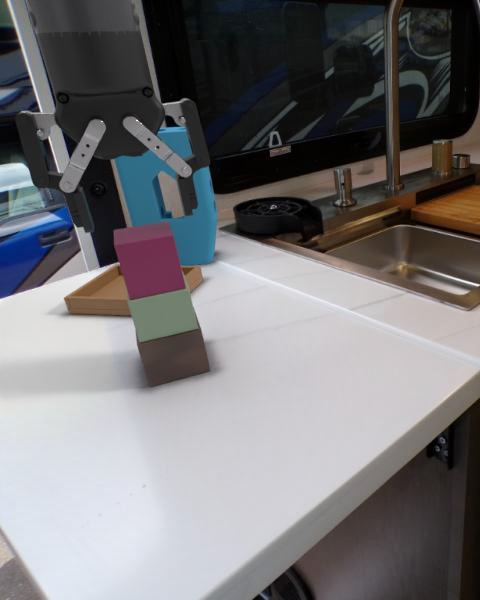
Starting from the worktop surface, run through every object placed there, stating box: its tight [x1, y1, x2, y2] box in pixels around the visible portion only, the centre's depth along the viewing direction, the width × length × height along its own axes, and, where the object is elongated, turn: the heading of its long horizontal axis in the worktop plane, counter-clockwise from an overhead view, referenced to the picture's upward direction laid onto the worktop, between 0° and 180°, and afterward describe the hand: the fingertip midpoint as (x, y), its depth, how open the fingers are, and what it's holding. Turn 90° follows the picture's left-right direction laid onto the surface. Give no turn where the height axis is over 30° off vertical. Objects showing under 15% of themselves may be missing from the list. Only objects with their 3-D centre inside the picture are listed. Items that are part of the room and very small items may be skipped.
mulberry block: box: [113, 221, 186, 300], centre depth 51 cm, size 5×5×6 cm
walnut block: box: [134, 306, 211, 388], centre depth 55 cm, size 6×6×5 cm
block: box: [113, 126, 219, 266], centre depth 79 cm, size 12×5×20 cm, turn 102°
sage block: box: [126, 271, 198, 343], centre depth 53 cm, size 6×6×4 cm
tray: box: [63, 263, 204, 316], centre depth 72 cm, size 13×11×2 cm
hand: (140, 222), depth 49 cm, fingers open, 8 cm apart
